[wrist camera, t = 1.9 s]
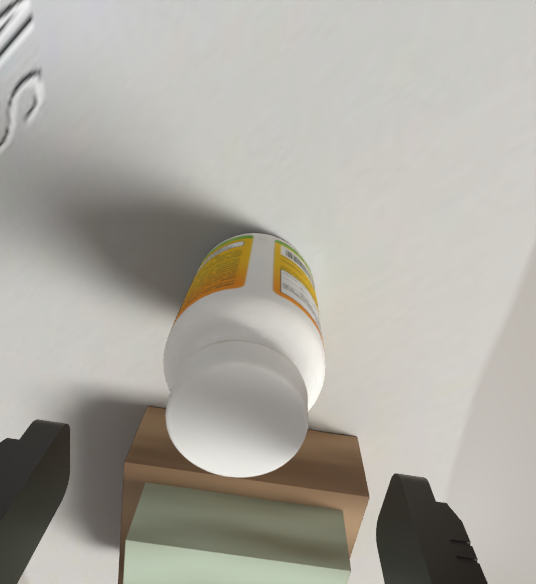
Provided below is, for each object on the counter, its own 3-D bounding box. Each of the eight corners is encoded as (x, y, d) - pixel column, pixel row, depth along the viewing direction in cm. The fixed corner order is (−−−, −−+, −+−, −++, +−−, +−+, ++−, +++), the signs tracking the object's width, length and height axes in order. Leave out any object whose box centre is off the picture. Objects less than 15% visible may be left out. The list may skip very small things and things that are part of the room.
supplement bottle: (189, 327, 23) (130, 482, 14) (205, 219, 21) (146, 321, 12) (300, 348, 24) (310, 511, 15) (326, 243, 21) (356, 360, 12)
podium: (147, 406, 25) (100, 518, 19) (357, 437, 25) (381, 557, 19) (137, 553, 30) (96, 685, 23) (316, 578, 30) (324, 714, 23)
